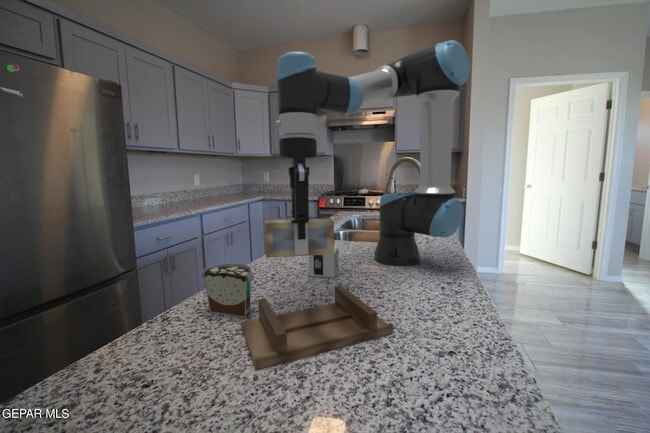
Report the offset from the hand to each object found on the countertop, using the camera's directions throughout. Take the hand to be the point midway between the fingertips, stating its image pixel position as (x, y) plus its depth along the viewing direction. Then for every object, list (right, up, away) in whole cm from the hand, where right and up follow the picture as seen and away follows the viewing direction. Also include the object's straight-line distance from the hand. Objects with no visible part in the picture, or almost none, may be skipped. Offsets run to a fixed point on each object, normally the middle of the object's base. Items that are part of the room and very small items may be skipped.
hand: (300, 251), depth 66 cm
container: (+5, -10, +29) cm, 31 cm away
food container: (-15, -14, +5) cm, 21 cm away
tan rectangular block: (0, -1, 0) cm, 1 cm away
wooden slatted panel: (+3, -15, -5) cm, 16 cm away
